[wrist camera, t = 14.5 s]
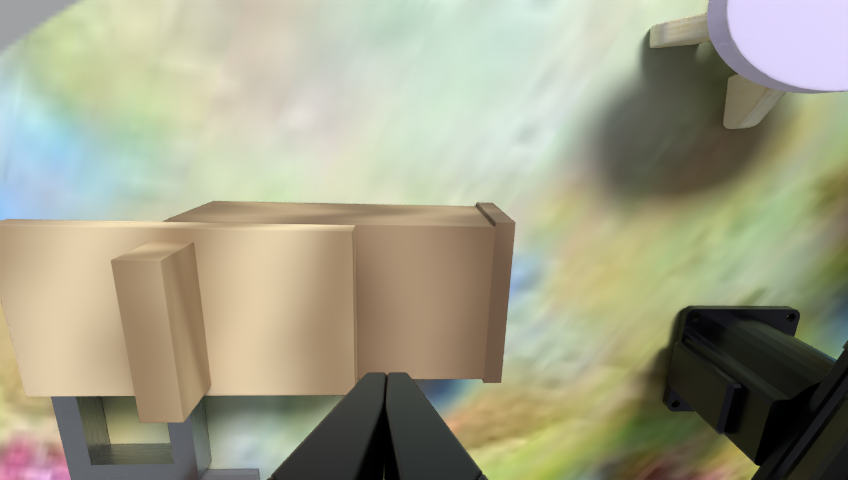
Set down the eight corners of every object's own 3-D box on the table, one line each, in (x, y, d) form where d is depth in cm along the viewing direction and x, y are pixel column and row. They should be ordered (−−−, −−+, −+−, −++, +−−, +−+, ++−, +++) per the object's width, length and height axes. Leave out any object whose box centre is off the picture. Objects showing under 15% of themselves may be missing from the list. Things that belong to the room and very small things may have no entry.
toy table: (615, 115, 20) (695, 111, 15) (664, -102, 18) (781, -203, 12) (800, 138, 21) (942, 143, 15) (870, -66, 19) (1067, -147, 13)
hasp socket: (198, 358, 22) (184, 374, 21) (211, 460, 24) (199, 481, 23) (69, 358, 22) (45, 374, 21) (91, 461, 24) (72, 483, 22)
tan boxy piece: (492, 203, 21) (515, 222, 17) (482, 335, 23) (501, 382, 19) (212, 197, 20) (161, 216, 16) (227, 334, 22) (185, 383, 18)
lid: (355, 225, 16) (343, 248, 13) (357, 380, 18) (348, 432, 15) (7, 219, 16) (-91, 241, 13) (46, 381, 17) (-30, 436, 14)
